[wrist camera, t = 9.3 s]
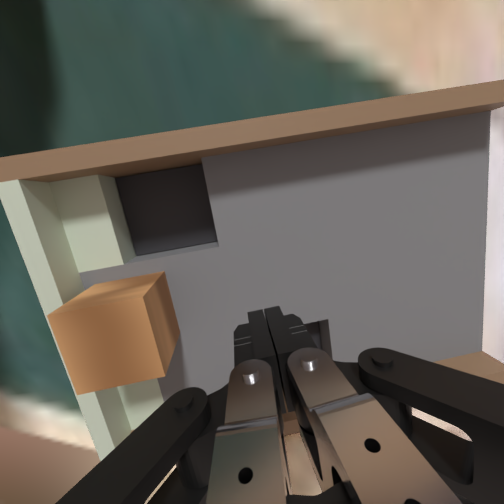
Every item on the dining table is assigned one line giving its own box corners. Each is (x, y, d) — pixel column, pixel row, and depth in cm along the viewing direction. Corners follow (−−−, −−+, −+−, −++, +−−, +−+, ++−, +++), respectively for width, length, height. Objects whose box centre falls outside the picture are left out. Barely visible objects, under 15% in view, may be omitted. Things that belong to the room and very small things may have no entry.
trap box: (453, 107, 17) (532, 75, 13) (451, 343, 21) (511, 382, 17) (53, 170, 15) (-15, 159, 11) (133, 414, 19) (106, 477, 15)
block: (164, 271, 15) (142, 296, 11) (180, 332, 16) (165, 376, 12) (94, 284, 15) (46, 315, 11) (114, 345, 15) (77, 395, 12)
